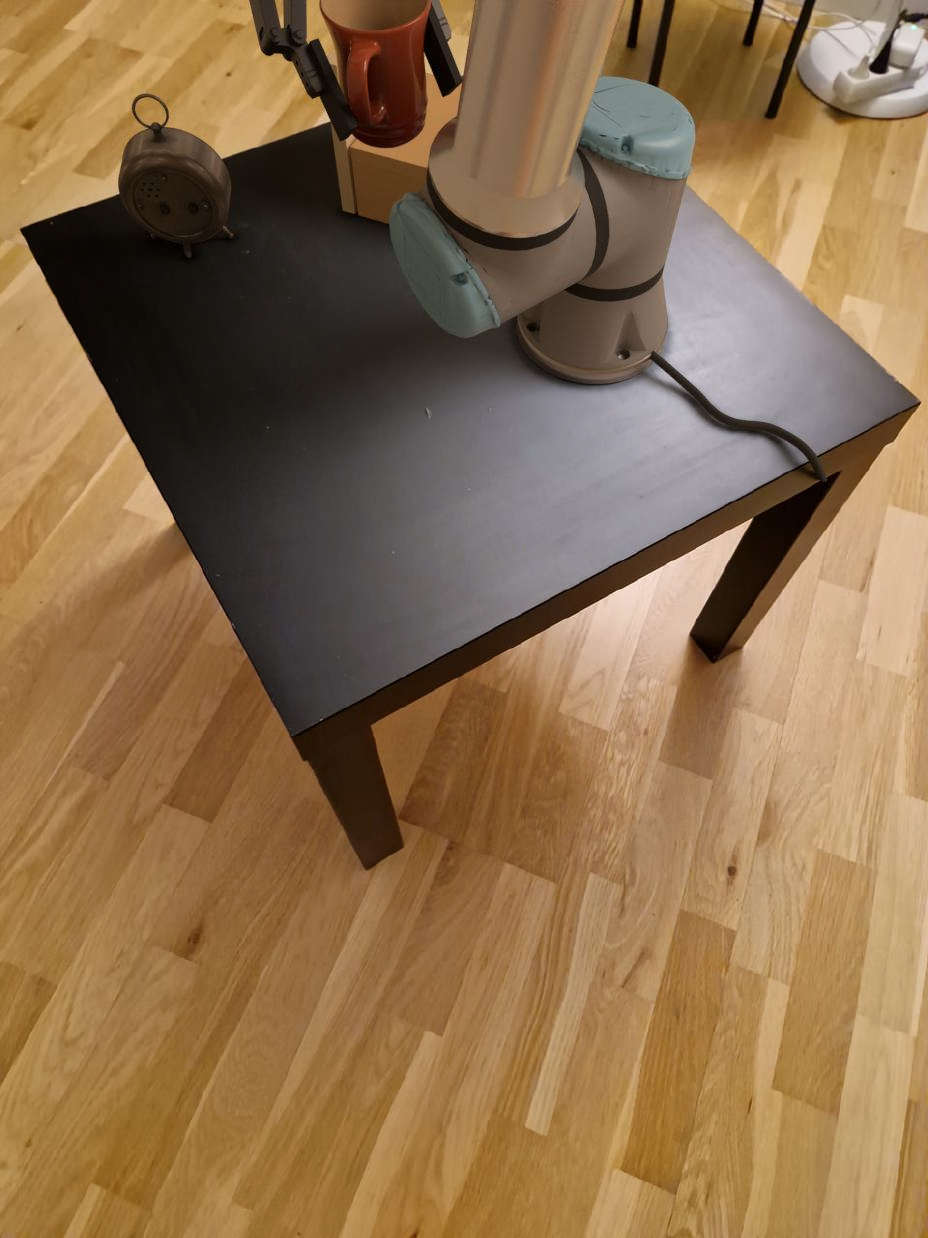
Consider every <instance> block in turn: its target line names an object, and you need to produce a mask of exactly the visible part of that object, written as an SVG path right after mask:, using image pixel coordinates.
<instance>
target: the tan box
mask: <svg viewBox="0 0 928 1238" xmlns="http://www.w3.org/2000/svg"><path fill="white" fill-rule="evenodd" d="M326 56H327V58H328V60H329V63H330V65H331V67H332V69H333V72H334V74H335V76H336V78H337V81H338V83H339V79H338V69H337V59H336V52H335V48H334V49H332V51H330V52H329V54H328V55H326ZM426 86H427V96H428V104H427V115H426V121H425V126H424V128H423V130H422V131H421V133H420V134H419V135H418V136H417V137H416V138H414V139H413V140H412V141H410V142H408V143H406V144H404V145H402V146H399V147H395V148H376V147H372V146H368V145H366V144H364V143H362V142H360V141H359V140H357V139H356V138H355V137H354V136H353V135H352V134H351V135H350V136H349V138H348V139H345V140H343V141H341V142H340V141H339V138H338V136H337V134H336V132H335V130H334V127H333V125H332V123H331V121H330V120H329V121H330V127H331V128H330V129H331V133H332V134H331V135H332V143H333V150H334V157H335V164H336V172H337V179H338V186H339V193H340V200H341V208H342V211H343V212H346V213H350V214H353V215H356V214H357V215H358V216H360V217H364V218H367V219H370V220H374V221H378V222H380V223H384V224H387V225H389V217H390V212H391V209H392V207H393V205H394V204H395V203H396V202H397V201H398V200H400V199H401V198H403V197H404V194H405V193H408V192H413V193H414V192H416V191H418V190H420V189H421V188H423V186H424V185H425V182H426V176H427V168H428V160H429V153H430V149H431V145H432V143H433V141H434V138H435V137H436V135H437V134H438V132H439V131H440V129H441V128H442V127H443V126H444V125H445V124H446V123H447V122H449V121H450V120H451V119H453V118H454V117H456V116H457V112H458V105H459V99H460V93H461V86H462V83H461V84H460V85H459V86H458V87H457V88H456V89H455V90H454V91H453V92H452V93H451V94H450V95H447V96H445V97H442V95H441V92H440V90H439V87H438V85H437V82H436V80H435V78H434V75H433V73H428V72H426Z"/></svg>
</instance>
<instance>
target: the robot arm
mask: <svg viewBox="0 0 928 1238" xmlns="http://www.w3.org/2000/svg"><path fill="white" fill-rule="evenodd" d="M248 1H249V5H250V10H251V14H252V19H253V23H254V27H255V28H254V29H255V32H256V36H257V41H258V44H259V49H260V51H261V53H262V54H263V55H265V56H266V57H271V56H274V55H275V54H276V55H281V56H282V57H283V59H284V60H285V61H287V62H290V63H292V64H293V66H294V69H295V71H296V72H297V75H298V77H299V80H300V81H301V83H302V85H303V88H304V91H305V92H306V94H307V95H308V96H309V97H310V99H311V100H314V99H317V98H319V99H320V101H321V104H322V106H323V107H324V108H323V109H324V110H325V112H326V114H327V116H328V119H329V121H331V122H330V124H331V123H332V125H333V127H334V130H335V132H336V134H337V136H338V138H339V141H340V142H341V141H343V140H345V139H348V138H349V136H350V135H351V134H352V133H353V132H354V131H355V129H356V128H357V127H358V125H357V123H356V121H355V118H354V116H353V114H352V112H351V110H350V107H349V105H348V103H347V101H346V98H345V96H344V94H343V92H342V89H341V87H340V85H339V83H338V81H337V78H336V76H335V74H334V72H333V69H332V67H331V65H330V63H329V60H328V58H327V56H328V55H327V53H326V52H325V49H324V47H323V45H322V43H321V40H320V38H319V37H317V38H315V39H312V40H309V42H308V40H307V38H308V21H307V19H308V17H307V16H308V13H307V12H308V11H307V10H308V9H307V5H308V4H307V1H308V0H282V9H283V10H282V11H283V13H282V14H283V15H282V16H283V27H282V26H281V21H280V16H279V12H278V8H277V4H276V0H248ZM625 4H626V0H474V5H473V10H472V17H471V24H470V30H469V37H468V42H467V50H466V54H465V55H466V56H465V62H464V69H463V75H461V72H460V70H459V68H458V65H457V63H456V59H455V58H454V55H453V53H452V49H451V47H450V44H449V41H450V40H451V39H452V29H451V27H450V24H449V23H448V22H449V21H448V20H447V18H446V14H445V12H444V9H443V7H442V3H441V2H440V0H431V6H430V11H429V15H428V19H427V24H426V29H425V35H424V57H425V59H426V60H427V63H428V65H429V68H430V70H431V74H433V75H434V78H435V80H436V82H437V85H438V87H439V90H440V92H441V95H442V97H445V96H447V95H450V94H451V93H452V92H453V91H454V90H455V89H456V88H457V87H458V86H459V85H460V84H461V83H462V86H461V93H460V99H459V105H458V112H457V116H456V117H454V118H453V119H451V120H450V121H449V122H447V123H446V124H445V125H444V126H443V127H442V128H441V129H440V131H439V132H438V134H437V135H436V137H435V138H434V141H433V143H432V145H431V149H430V153H429V160H428V168H427V176H426V182H425V185H424V186H423V188H421V189H420V190H418V191H416V192H414V193H413V192H408V193H405V194H404V197H403V198H401V199H400V200H398V201H397V202H396V203H395V204H394V205H393V207H392V209H391V212H390V217H389V224H388V225H389V226H388V227H389V233H390V240H391V244H392V248H393V251H394V254H395V257H396V259H397V262H398V264H399V267H400V269H401V271H402V273H403V275H404V278H405V280H406V283H407V284H408V286H409V287H410V289H411V291H412V292H413V294H414V297H415V298H416V299H417V301H418V302H419V304H420V306H421V307H422V308H423V310H424V311H425V312H426V313H427V315H429V317H430V318H431V319H432V320H433V321H434V322H435V323H436V325H438V326H439V327H440V328H441V329H442V330H444V331H445V332H446V333H448V334H449V335H453V336H456V337H457V338H462V339H469V338H473V337H475V336H477V335H480V334H482V333H484V332H487V331H488V330H491V329H493V330H495V329H498V328H500V326H501V325H502V324H504V323H505V322H507V321H509V320H511V319H513V318H515V317H516V316H517V318H516V335H517V339H518V342H519V344H520V346H521V348H522V350H523V351H524V353H525V355H526V356H528V358H529V359H530V360H531V361H532V362H533V363H534V364H535V365H537V366H538V367H539V368H541V369H542V370H544V371H546V372H547V373H549V374H551V375H553V376H556V377H558V378H560V379H564V380H566V381H570V382H575V383H580V384H587V385H605V384H613V383H617V382H621V381H626V380H628V379H631V378H634V377H635V376H637V375H639V374H641V373H643V372H644V371H646V370H647V369H648V368H650V366H652V364H655V365H656V366H657V367H659V368H660V369H661V370H662V371H663V372H665V373H666V374H667V375H668V376H669V377H670V378H671V379H673V380H674V382H676V383H677V384H678V385H679V386H681V387H682V388H683V389H684V390H685V391H686V392H687V393H688V394H690V396H691V397H693V398H694V400H696V401H697V402H698V404H699V405H700V406H701V407H702V409H704V411H706V413H708V414H709V415H710V416H711V417H712V418H713V419H715V420H717V421H718V422H720V423H721V424H723V425H725V426H729V427H730V428H731V427H732V428H736V429H742V430H752V431H761V432H766V433H769V434H772V435H774V436H775V437H778V438H780V439H781V440H783V441H785V442H787V443H789V444H790V445H792V447H795V448H796V449H797V450H798V451H800V452H801V454H802V455H803V456H804V457H805V458H806V459H807V461H808V462H809V464H810V466H811V468H812V469H813V472H814V474H815V477H816V479H817V480H818V481H819V482H822V483H826V482H827V481H828V477H827V473H826V472H825V469H824V466H823V465H822V462H821V461H820V458H819V457H818V455H817V454H816V452H815V451H814V450H813V449H812V447H810V445H808V444H807V443H806V442H805V441H804V440H802V439H801V438H800V437H798V436H797V435H795V434H793V432H790V431H789V430H787V429H785V428H783V427H780V426H779V425H776V424H773V423H771V422H767V421H760V420H751V419H750V420H749V419H740V418H736V417H733V416H730V415H727V414H726V413H724V412H722V411H721V410H720V409H718V408H717V407H716V406H714V404H712V402H711V401H710V400H709V399H708V398H707V396H705V395H704V393H703V392H701V390H700V389H698V388H697V386H695V385H694V384H693V383H692V382H691V381H690V380H688V378H686V377H685V376H684V375H683V374H682V373H680V372H679V371H678V370H677V369H676V368H675V367H674V366H673V365H672V364H670V362H668V361H667V360H666V359H664V357H663V356H661V355H660V354H661V352H662V349H663V347H664V344H665V341H666V336H667V333H668V329H669V315H668V308H667V301H666V299H667V298H666V292H665V284H664V283H665V282H664V275H663V274H664V271H665V266H666V262H667V258H668V254H669V250H670V246H671V242H672V239H673V235H674V232H675V228H676V223H677V220H678V216H679V212H680V208H681V204H682V200H683V196H684V193H685V188H686V186H687V180H688V177H689V176H690V175H691V173H692V168H693V164H692V160H693V154H694V149H695V144H696V137H697V135H696V125H695V122H694V119H693V117H692V115H691V113H690V111H689V110H688V109H687V108H686V106H685V105H684V104H683V103H682V102H681V101H679V100H678V99H677V98H676V97H675V96H673V95H672V94H670V93H668V92H667V91H665V90H663V89H661V88H660V87H657V86H655V85H652V84H650V83H647V82H643V81H640V80H637V79H632V78H627V77H621V76H610V75H609V76H608V75H607V76H602V74H603V70H604V67H605V65H606V61H607V58H608V55H609V52H610V50H611V46H612V43H613V40H614V37H615V34H616V30H617V28H618V25H619V23H620V18H621V16H622V13H623V9H624V7H625Z"/></svg>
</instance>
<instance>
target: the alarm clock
mask: <svg viewBox="0 0 928 1238" xmlns="http://www.w3.org/2000/svg"><path fill="white" fill-rule="evenodd" d="M144 98H150V99H153V100H155V101H157V102H158V103H159V105H160V106H162V108H163V109H164V111H165V120H164V122H163V123H162V124H161V123H159V122H158V121H154V122H152V123H151V124H150V125H149V124H146V123H144V121H142V120H141V119H140V117H139V116H138V114H137V112H136V107H137V104H138V102H139V101H140V100H141V99H144ZM131 112H132V114H133V116H134V118H135V120H136V121H137V122H138V123H139V124H140V125H141V126H143V127H144V128H145V129H143V130H141V131H139V132H137V133H135V134H134V135H133V136H131V138H130V139H129V140H128V141H127V143H126V145H125V147H124V149H123V151H122V156H121V161H120V162H121V163H120V168H119V172H118V178H117V187H118V193H119V197H120V200H121V202H122V204H123V206H124V208H125V209H126V211H127V212H128V214H129V215H130V217H131V218H132V219H133V220H134V221H135V222H136V223H137V224H138V225H139V226H140V227H141V228H143V229H144V230H146V231H147V232H148V233H150V237H151V239H152V240H156V239H157V238H160V239H162V240H165V241H168V242H171V243H177V244H181V245H182V248H183V251H184V255H185V256H186V258H192V250H191V249H192V248H191V245H192V244H199V243H202V242H205V241H208V240H210V239H212V238H213V237H214V236H216V235H217V234H218V233H219V232H220V233H223V234H225V235H226V236H227V238H228V239H230V240H232V239H233V238H234V234H233V233H232V232H230V230H229V229H228V227H227V226H225V225H226V222H227V220H228V216H229V211H230V203H231V197H232V196H231V195H232V181H231V175H230V172H229V169H228V168H227V166H226V164H225V162H224V160H223V159H222V157H221V156H220V154H218V152H217V151H216V150H215V149H214V148H213V147H212V146H211V145H209V143H207V142H206V141H205V140H203V139H201V138H200V137H198V136H196V135H195V134H193V133H191V132H189V131H186V130H183V129H181V128H176V127H172V126H171V127H170V126H167V124H168V122H169V119H170V112H169V108H168V106H167V104H166V103H165V102H164V101H163V100H162V99H161V98H160V97H159V96H156V95H154V94H152V93H140V94H138V95H137V96H135V98H134V99H133V101H132V102H131Z"/></svg>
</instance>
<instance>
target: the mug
mask: <svg viewBox="0 0 928 1238" xmlns="http://www.w3.org/2000/svg"><path fill="white" fill-rule="evenodd" d="M318 3H319V4H318V7H319V11H320V14H321V17H322V19H323V21H324V24H325V25H326V28H327V30H328V33H329V36H330V38H331V40H332V43H333V47H334V49H335V52H336V59H337V69H338V79H339V85H340V87H341V89H342V92H343V94H344V96H345V98H346V101H347V103H348V105H349V107H350V110H351V112H352V114H353V116H354V118H355V121H356V123H357V125H358V127H357V128H356V129H355V131H354V132H353V133H352V135H353V136H354V137H355V138H356V139H357V140H359V141H360V142H362V143H364V144H366V145H368V146H372V147H376V148H395V147H399V146H402V145H404V144H406V143H408V142H410V141H412V140H413V139H414V138H416V137H417V136H418V135H419V134H420V133H421V131H422V130H423V128H424V126H425V121H426V115H427V104H428V96H427V86H426V73H427V71H426V60H425V53H424V35H425V29H426V24H427V19H428V15H429V11H430V6H431V0H319V2H318Z"/></svg>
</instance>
